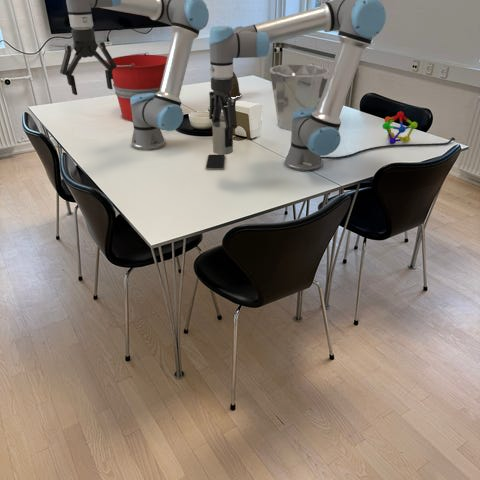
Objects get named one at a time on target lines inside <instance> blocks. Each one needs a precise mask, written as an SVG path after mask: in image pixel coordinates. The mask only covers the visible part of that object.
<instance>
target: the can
mask: <svg viewBox="0 0 480 480" xmlns="http://www.w3.org/2000/svg"><path fill="white" fill-rule="evenodd" d="M211 127H212V152H213V153H214V155H225V156H226V155H231V154H232V153H233V152H234V145H233V146H231V147H225V128H226V124H225V121H218V122H215V123H213V122H212V125H211Z"/></svg>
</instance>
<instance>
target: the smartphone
mask: <svg viewBox="0 0 480 480" xmlns="http://www.w3.org/2000/svg"><path fill="white" fill-rule="evenodd" d="M225 160H226V155H218V154H208V156H207V161H206V164H205V165H206V166H205V169H207V170H224V167H225Z"/></svg>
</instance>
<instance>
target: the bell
mask: <svg viewBox="0 0 480 480" xmlns="http://www.w3.org/2000/svg"><path fill="white" fill-rule="evenodd" d="M232 78H233V89H232V90H231V91H230V95H231V97H236V96H240V95H241V96H242V93H241V92H240V83H239V80H238V79H239V78H238V77H237V75H236V73H235V72H234V71H233V76H232Z"/></svg>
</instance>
